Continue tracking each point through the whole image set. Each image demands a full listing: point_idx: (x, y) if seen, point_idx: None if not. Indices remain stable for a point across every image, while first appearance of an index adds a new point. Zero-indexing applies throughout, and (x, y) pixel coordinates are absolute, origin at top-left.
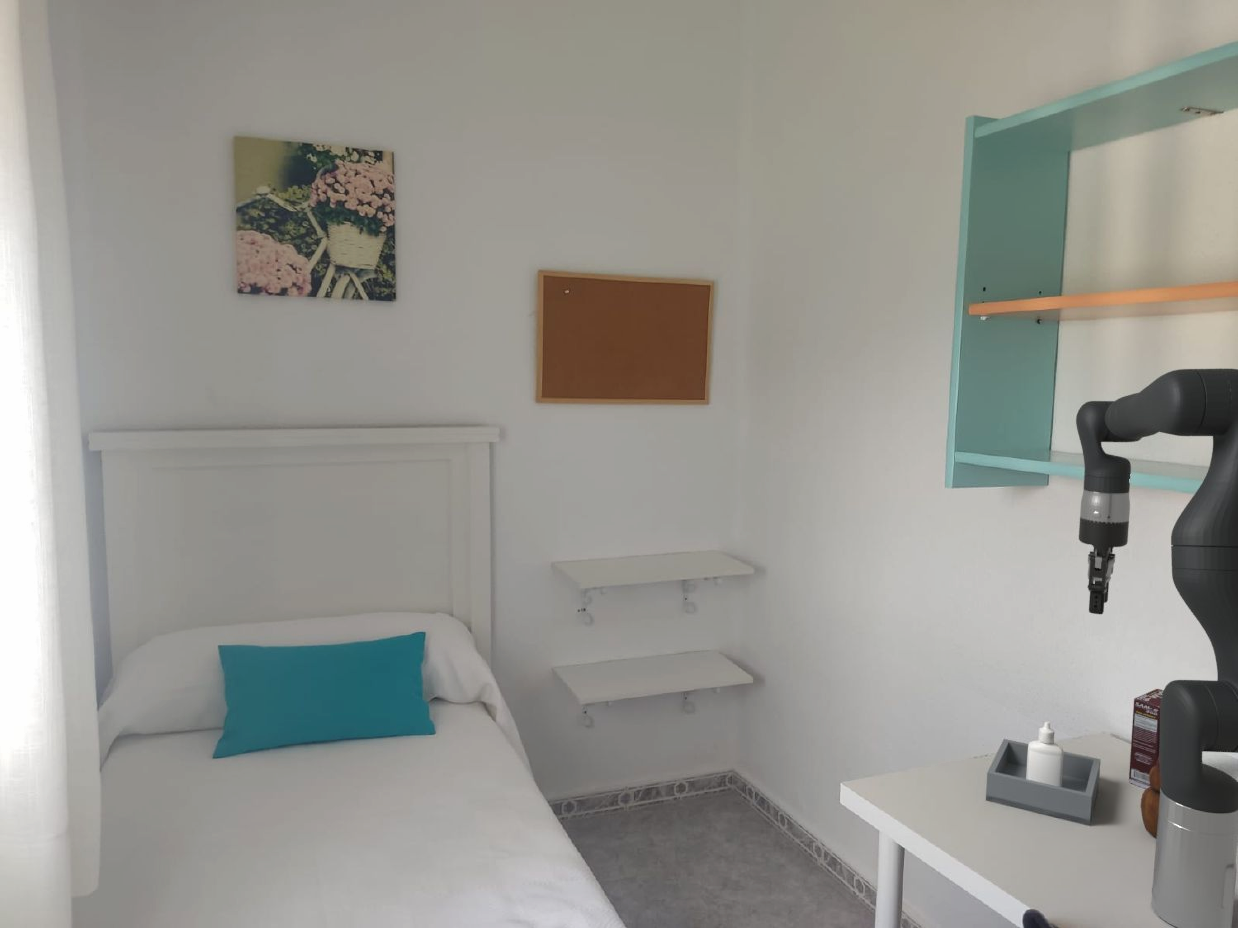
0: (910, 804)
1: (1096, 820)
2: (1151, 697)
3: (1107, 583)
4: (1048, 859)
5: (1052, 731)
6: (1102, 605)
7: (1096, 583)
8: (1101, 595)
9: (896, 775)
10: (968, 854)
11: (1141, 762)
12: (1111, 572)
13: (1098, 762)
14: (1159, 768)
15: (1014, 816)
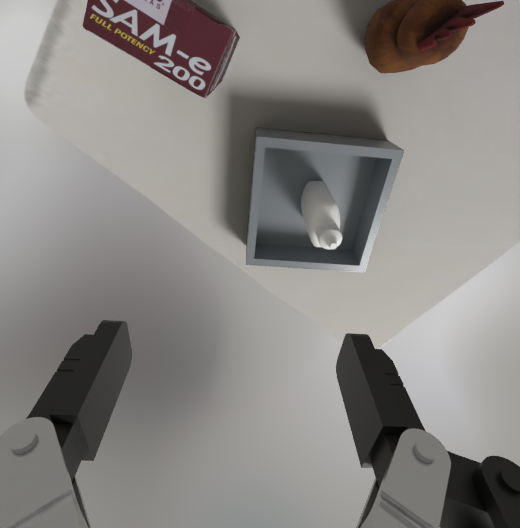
0: (387, 310)
1: (369, 131)
2: (174, 49)
3: (82, 414)
4: (482, 184)
5: (336, 231)
6: (380, 367)
7: (96, 441)
8: (419, 427)
9: (325, 329)
10: (481, 256)
11: (228, 63)
12: (76, 511)
13: (272, 139)
14: (444, 46)
15: (386, 223)
